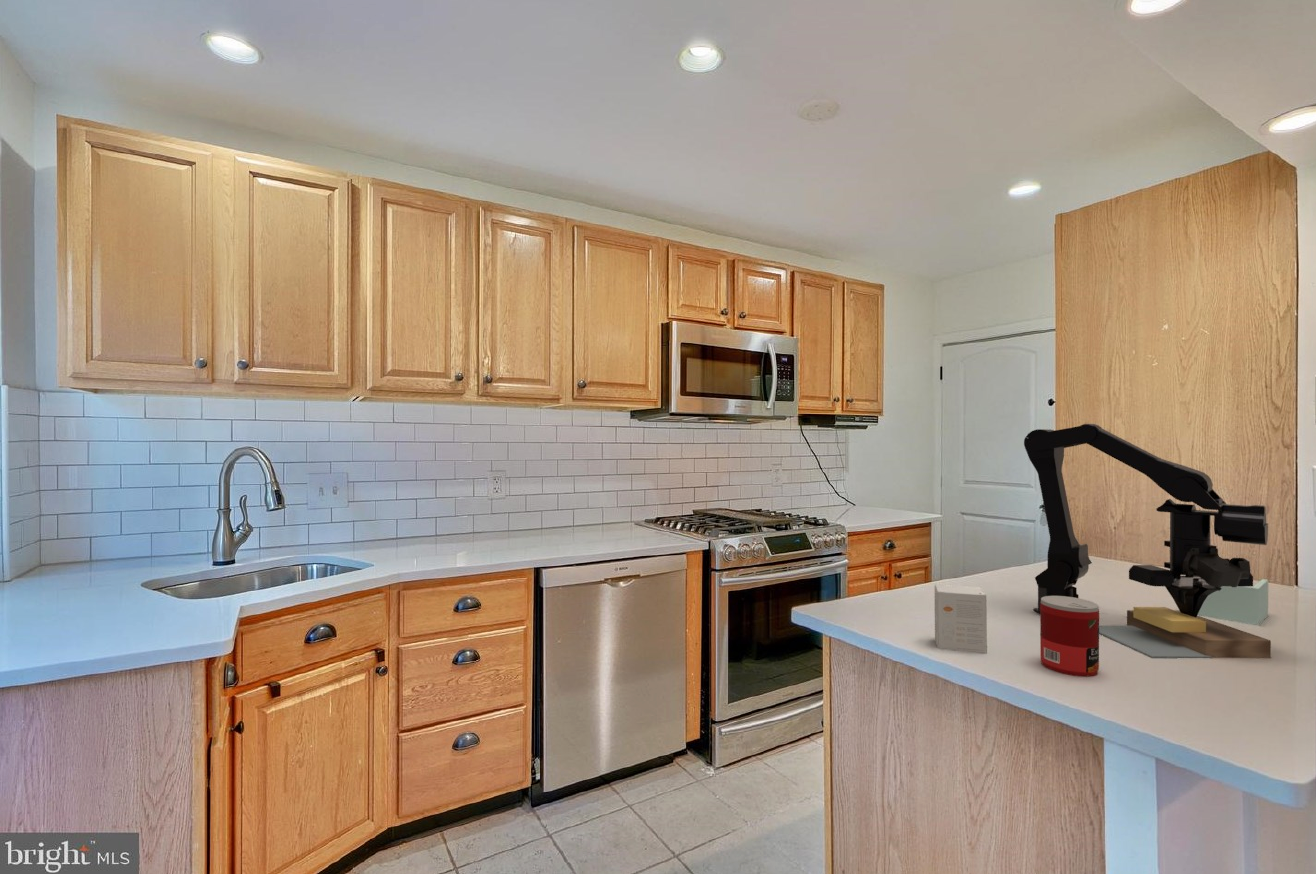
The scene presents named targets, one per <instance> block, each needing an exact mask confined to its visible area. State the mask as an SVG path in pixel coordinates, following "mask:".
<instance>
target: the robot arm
mask: <svg viewBox="0 0 1316 874" xmlns="http://www.w3.org/2000/svg"><path fill="white" fill-rule="evenodd" d="M1084 444H1087V445H1089V446H1091V447H1093V448H1095V449H1096V450H1099V452H1102V453H1104V454H1106V455H1107V456H1110V457H1111V458H1113V459H1115V460H1117V461H1118V462H1121V463H1122V464H1124V465H1127V466H1129V467H1130V468H1132V469H1134V470H1136V471H1137V472H1140V473H1141V474H1143V475H1145V476H1146V477H1147V478H1149V479H1150V480H1152V482H1153V483H1154V484H1156V485H1157V486H1158V487H1159V488H1160V489H1162V490H1163V491H1164V492H1166V493H1167V494H1168V495H1170V496H1171V497H1172V498H1174V499H1176V501H1177V500H1178V501H1180V502H1183V503H1177V502H1176V503H1175V501H1173V500H1172V499H1171V498H1167V499H1166V500H1165V501H1164V503H1162V505H1160V506H1158V507H1157V508H1156V509H1155V510H1156V511H1157V512H1159V513H1169V540H1164V542H1163V543H1164V546H1163V547H1167V548H1169V561H1164V562H1163V567H1159V566H1155V565H1152V564H1141V565H1140V564H1133V565H1132V566H1131V567H1129V570H1128V580H1131V581H1135V582H1137V583H1140V584H1143V585H1147V586H1149V587H1165V589H1166V591H1167V592H1168V593H1169V595H1170V596H1171V598H1172V599H1173V601H1174V603H1175V605H1176V607H1177V608H1178V609H1177V610H1180V612H1181V613H1184V614H1187V615H1190V616H1193V617H1195V618H1196V617H1197V616H1199V615H1198V613H1199V611H1200V609H1201V607H1202V605H1203V603H1204V601H1205V600H1206V598H1207V596H1208V595H1210V594H1212V593H1213V592H1215V591H1220V590H1221V589H1222V588H1220V587H1222V586H1231V587H1237V586H1249V587H1254V575H1253V574H1252V573H1251V564H1250V560H1247V559H1246V558H1244V557H1232V558H1223V557H1221V556H1220V554H1219V549H1218V548H1217V545H1214V544H1211V517H1213V531H1214V532H1213V533H1214V535H1216V536H1217V537H1221V539H1222V542H1231V543H1241V544H1252V545H1261V546H1267V544H1268V538H1269V523H1268V522H1267V511H1266V506H1265V505H1261V504H1259V505H1258V504H1251V505H1242V504H1227V502H1225V500H1224V498H1222V497H1221V496H1219V494H1218V493H1217V492H1216V491H1215V490H1214V489H1213V485H1214V484H1213V481H1212V479H1211V477H1210V476H1209V475H1208V474H1207V473H1205V472H1203V471H1200V470H1198V469H1195V468H1192V467H1189V466H1186V465H1183V464H1179V463H1176V462H1172V461H1170V460H1166V459H1164V458H1161V457H1159V456H1156V455H1155V454H1153V453H1151V452H1149V451H1147V450H1145V449H1144V448H1141V447H1139V446H1137V445H1135V444H1133V443H1132V442H1129V441H1127V440H1125V439H1123V438H1121V437H1120V436H1117V435H1115V434H1114V433H1111V432H1109V431H1107V430H1106V429H1104V428H1103V427H1101V426H1100V425H1099V424H1096V423H1084V424H1083V423H1082V424H1081V425H1078V426H1071V427H1067V428H1062V429H1057V430H1054V429H1047V428H1046V429H1044V428H1043V429H1040V428H1039V429H1034V430H1031V431H1030V432H1028V433H1027V435H1026V436H1024V440H1023V445H1024V449H1025V451H1026V453H1027V457H1028V459H1029V461H1030V462H1031V464H1032V466H1033V467H1034V469H1035V471H1036V472H1037V477H1038V480H1039V481H1038V483H1039V486H1040V491H1041V496H1042V501H1043V507H1044V513H1045V514H1044V515H1045V518H1046V524H1047V528H1048V534H1049V543H1048V549H1047V564H1046V565H1047V568H1046V569H1044V570H1043V571H1041V572H1040V573H1039V574H1037V575H1036V576H1035V577H1034V579H1035V581H1036V582H1035V583H1036V585H1037V607H1033V611H1034V612H1036V613H1038V614H1040V606H1041V598H1042V597H1045V596H1066V597H1074V598H1079V594H1078V592H1077V591H1078V590H1077V586H1076V584H1077V583H1078V580H1079V579H1081V578H1082V577H1084V576H1085V575H1086V574H1087V573H1088V572H1089V567H1090V566H1089V565H1091V564H1092V563H1093V562H1092V560H1091V559H1090V556H1089V546H1088V544H1087V543H1084V544H1080V543H1079V541H1078V540H1077V538H1076V536H1075V533H1074V526H1073V522H1072V518H1071V517H1072V516H1071V512H1070V507H1069V502H1068V497H1067V491H1066V486H1065V482H1064V481H1065V480H1064V475H1063V472H1062V471H1063V470H1062V469H1063V464H1064V459H1065V449H1066V448H1072V447H1077V446H1081V445H1084ZM1187 503H1189V504H1187ZM1191 503H1193V504H1191ZM1196 506H1198V507H1200V508H1202V509H1197V508H1196ZM1203 509H1204V510H1203ZM1075 586H1076V587H1075Z"/></svg>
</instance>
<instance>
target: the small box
mask: <svg viewBox="0 0 1316 874" xmlns="http://www.w3.org/2000/svg"><path fill="white" fill-rule="evenodd" d="M987 609H988V608H987V595H986V593H985V592H984V590H983V588H981V587H979V586H966V585H965V586H963V585H962V586H961V585H950V584H949V585H946V584H945V585H944V584H935V585H934V642H935V644H936V647H937V649H939V650H948V651H957V652H968V653H979V654H987V653H988V630H987V629H988V627H987V625H988V624H987V619H988V617H987Z"/></svg>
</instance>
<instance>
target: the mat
mask: <svg viewBox="0 0 1316 874" xmlns="http://www.w3.org/2000/svg"><path fill="white" fill-rule="evenodd" d="M1102 635H1103V637H1104V636H1105V637H1104V638H1107V639H1109V640H1111V641H1113V642H1115V643H1118V644H1120V645H1122V646H1124V647H1127V648H1128V647H1129V649H1130V648H1131V650H1133V651H1135V652H1137V653H1139V654H1141V655H1144V656H1146V657H1147V658H1148V657H1149V658H1151V659H1177V658H1211V656H1206V655H1203V654H1201V653H1198V652H1196V651H1193V650H1191V649H1189V648H1186V647H1184V646H1181V645H1179V644H1176V643H1174V642H1171V641H1169V640H1167V639H1164V638H1162V637H1159V636H1157V635H1154V634H1152V633H1150V632H1147V631H1145V630H1142V629H1140V628H1137V627H1135V626H1128V625H1099V636H1102ZM1211 659H1212V658H1211Z"/></svg>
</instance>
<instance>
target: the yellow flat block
mask: <svg viewBox="0 0 1316 874" xmlns="http://www.w3.org/2000/svg"><path fill="white" fill-rule="evenodd" d="M1132 610H1133V617H1134V618H1136V619H1139V620H1142V621H1144V622H1147V623H1149V624H1152V625H1155V626H1157V627H1160V628H1162V629H1165V630H1167V631H1170V632H1206V621H1204V620H1201V619H1198V618H1195V617H1193V616H1190V615H1187V614H1184V613H1181V612H1178V611H1175V610H1176V609H1171V608H1169V607H1166V606H1133V609H1132Z"/></svg>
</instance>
